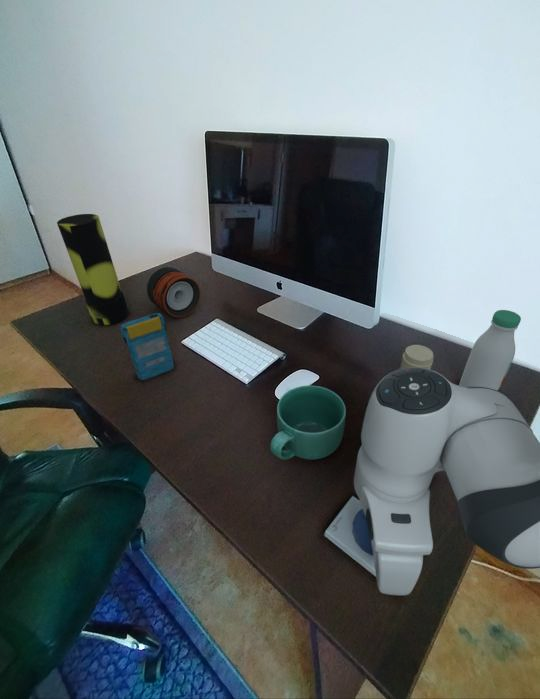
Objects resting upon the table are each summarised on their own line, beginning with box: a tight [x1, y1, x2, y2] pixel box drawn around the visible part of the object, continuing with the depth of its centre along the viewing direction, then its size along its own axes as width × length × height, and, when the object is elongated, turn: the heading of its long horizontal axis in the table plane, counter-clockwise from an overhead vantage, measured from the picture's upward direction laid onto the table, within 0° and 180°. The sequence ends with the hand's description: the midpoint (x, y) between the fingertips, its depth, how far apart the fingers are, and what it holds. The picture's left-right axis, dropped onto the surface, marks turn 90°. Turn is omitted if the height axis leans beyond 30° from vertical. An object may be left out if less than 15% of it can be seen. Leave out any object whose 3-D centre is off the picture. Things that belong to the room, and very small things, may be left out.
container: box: [56, 213, 129, 326], centre depth 106 cm, size 11×11×30 cm
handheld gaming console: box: [119, 312, 175, 381], centre depth 88 cm, size 10×4×15 cm, turn 123°
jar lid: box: [352, 509, 373, 556], centre depth 54 cm, size 7×7×2 cm
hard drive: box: [323, 495, 376, 577], centre depth 56 cm, size 2×8×12 cm
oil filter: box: [146, 266, 201, 318], centre depth 114 cm, size 13×12×13 cm
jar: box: [399, 344, 434, 370], centre depth 81 cm, size 6×6×10 cm
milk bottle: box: [458, 309, 522, 392], centre depth 77 cm, size 8×8×20 cm
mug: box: [269, 385, 347, 461], centre depth 69 cm, size 17×13×10 cm
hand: (375, 534), depth 55 cm, fingers closed on jar lid, 7 cm apart
